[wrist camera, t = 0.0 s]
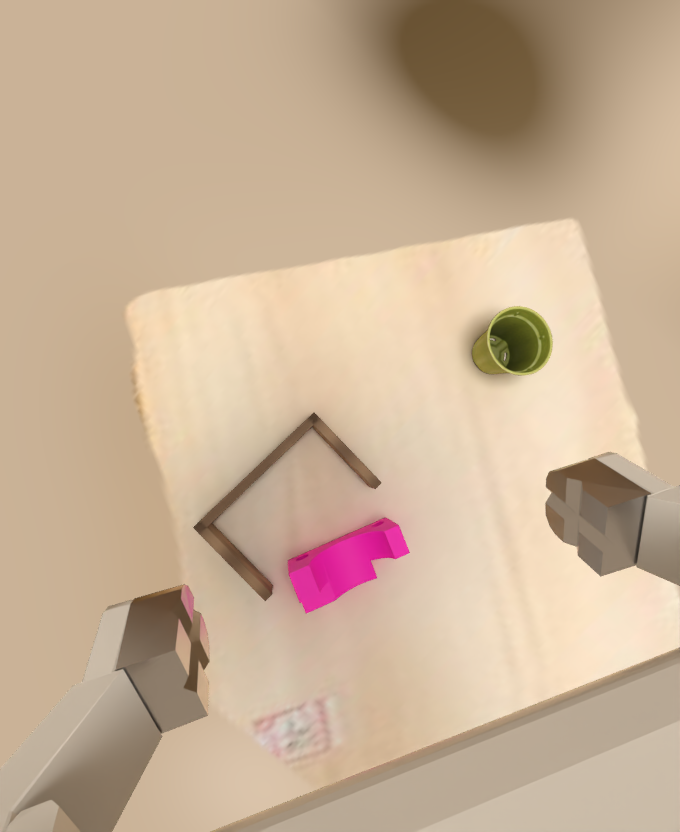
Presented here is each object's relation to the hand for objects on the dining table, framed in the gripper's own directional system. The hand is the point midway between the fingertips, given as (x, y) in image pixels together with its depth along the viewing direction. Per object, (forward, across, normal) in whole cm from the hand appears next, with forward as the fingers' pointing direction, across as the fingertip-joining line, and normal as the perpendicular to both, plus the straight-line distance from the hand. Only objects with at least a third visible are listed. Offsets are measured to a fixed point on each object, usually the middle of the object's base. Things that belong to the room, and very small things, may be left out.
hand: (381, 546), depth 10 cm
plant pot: (+52, +33, -18) cm, 64 cm away
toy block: (+41, +3, -38) cm, 57 cm away
